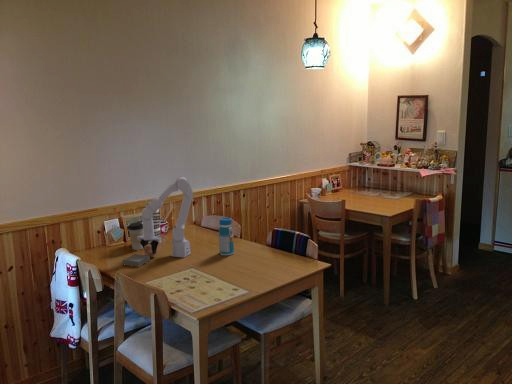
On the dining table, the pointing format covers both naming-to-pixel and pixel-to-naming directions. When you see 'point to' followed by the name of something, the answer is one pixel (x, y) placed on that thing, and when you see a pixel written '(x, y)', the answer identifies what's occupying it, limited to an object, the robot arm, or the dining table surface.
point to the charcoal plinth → (136, 260)
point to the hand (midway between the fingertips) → (150, 253)
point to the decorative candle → (156, 223)
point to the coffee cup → (136, 235)
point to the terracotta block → (149, 250)
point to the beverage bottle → (226, 237)
